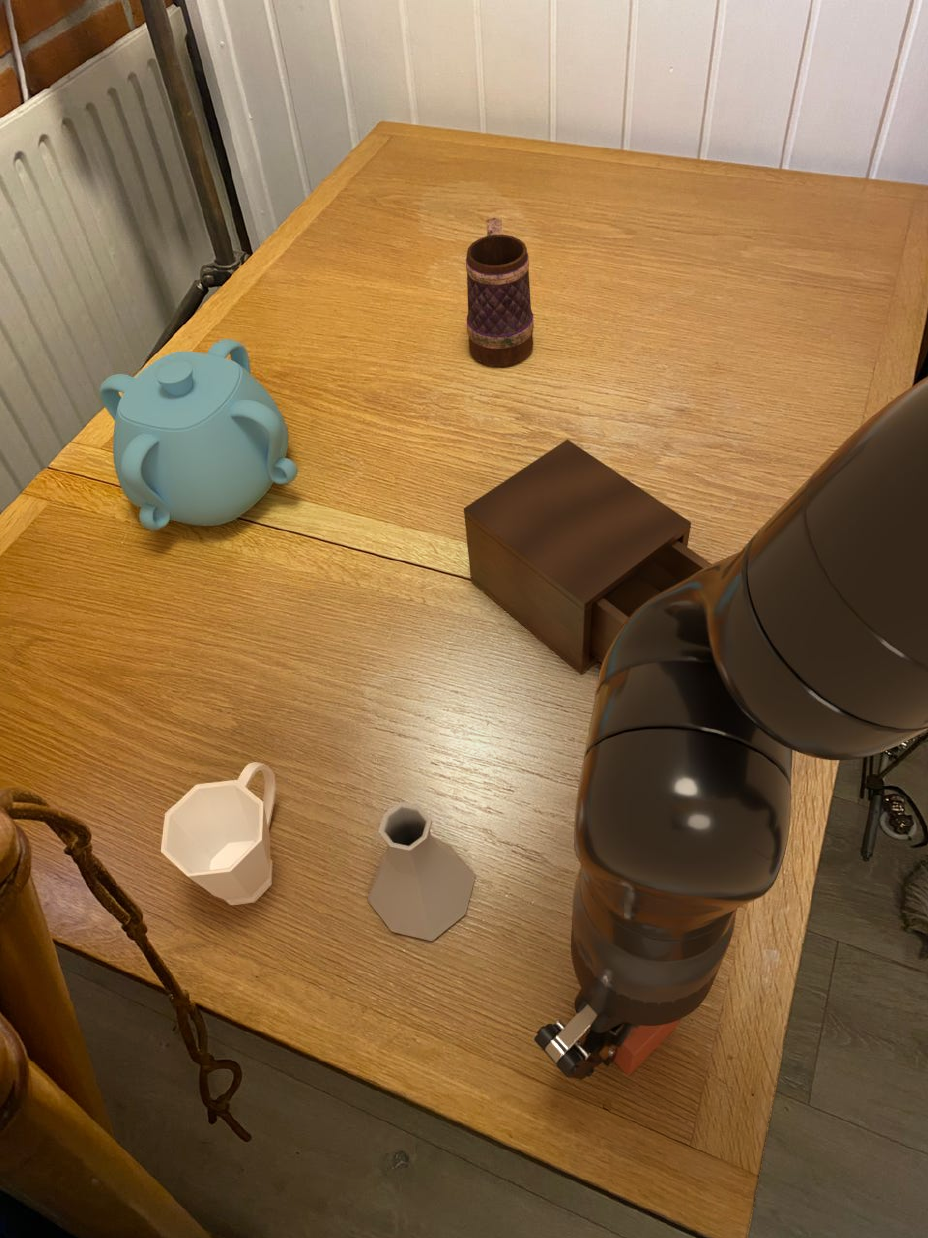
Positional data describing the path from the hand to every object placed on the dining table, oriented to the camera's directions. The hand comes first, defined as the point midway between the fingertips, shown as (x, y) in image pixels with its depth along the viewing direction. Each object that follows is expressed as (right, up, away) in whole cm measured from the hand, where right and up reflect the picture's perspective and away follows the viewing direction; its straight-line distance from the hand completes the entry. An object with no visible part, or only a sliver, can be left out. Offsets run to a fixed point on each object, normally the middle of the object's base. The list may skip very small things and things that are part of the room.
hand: (627, 1020), depth 60 cm
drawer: (+7, +22, +16) cm, 27 cm away
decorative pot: (-35, +38, +34) cm, 62 cm away
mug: (-6, +56, +45) cm, 72 cm away
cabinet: (-1, +28, +22) cm, 35 cm away
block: (0, 0, 0) cm, 0 cm away
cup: (-25, +8, +9) cm, 28 cm away
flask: (-13, +6, +7) cm, 16 cm away
